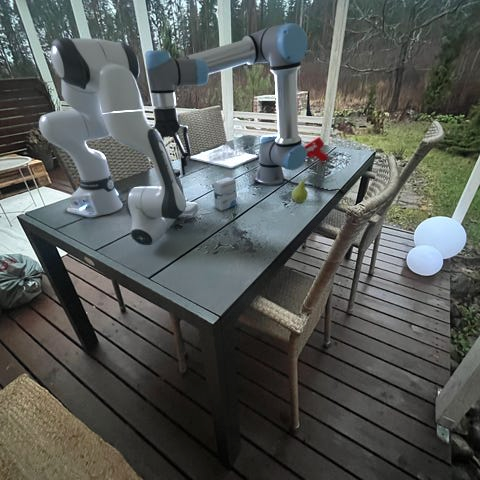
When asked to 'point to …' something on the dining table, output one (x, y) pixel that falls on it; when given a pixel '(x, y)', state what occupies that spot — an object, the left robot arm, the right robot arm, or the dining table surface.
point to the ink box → (225, 193)
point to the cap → (177, 172)
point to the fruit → (300, 192)
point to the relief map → (225, 156)
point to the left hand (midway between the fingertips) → (178, 199)
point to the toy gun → (316, 149)
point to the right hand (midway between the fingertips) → (174, 174)
